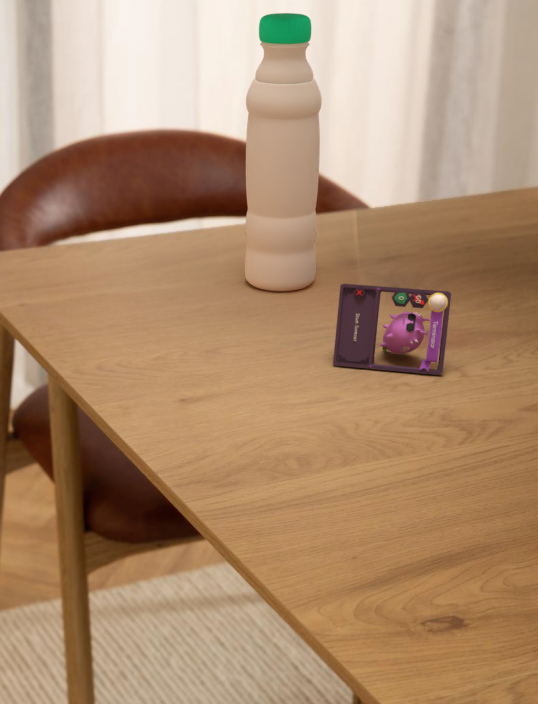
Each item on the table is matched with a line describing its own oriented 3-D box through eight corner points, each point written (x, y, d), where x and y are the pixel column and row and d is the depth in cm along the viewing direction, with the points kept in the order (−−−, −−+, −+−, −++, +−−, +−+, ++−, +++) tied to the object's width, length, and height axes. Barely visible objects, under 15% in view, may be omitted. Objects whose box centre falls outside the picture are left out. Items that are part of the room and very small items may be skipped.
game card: (339, 282, 97) (450, 291, 95) (347, 285, 102) (453, 293, 100) (331, 365, 98) (441, 375, 96) (340, 363, 103) (445, 373, 101)
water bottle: (246, 293, 115) (248, 19, 104) (242, 271, 121) (244, 10, 110) (319, 292, 115) (329, 18, 104) (311, 270, 122) (320, 10, 110)
